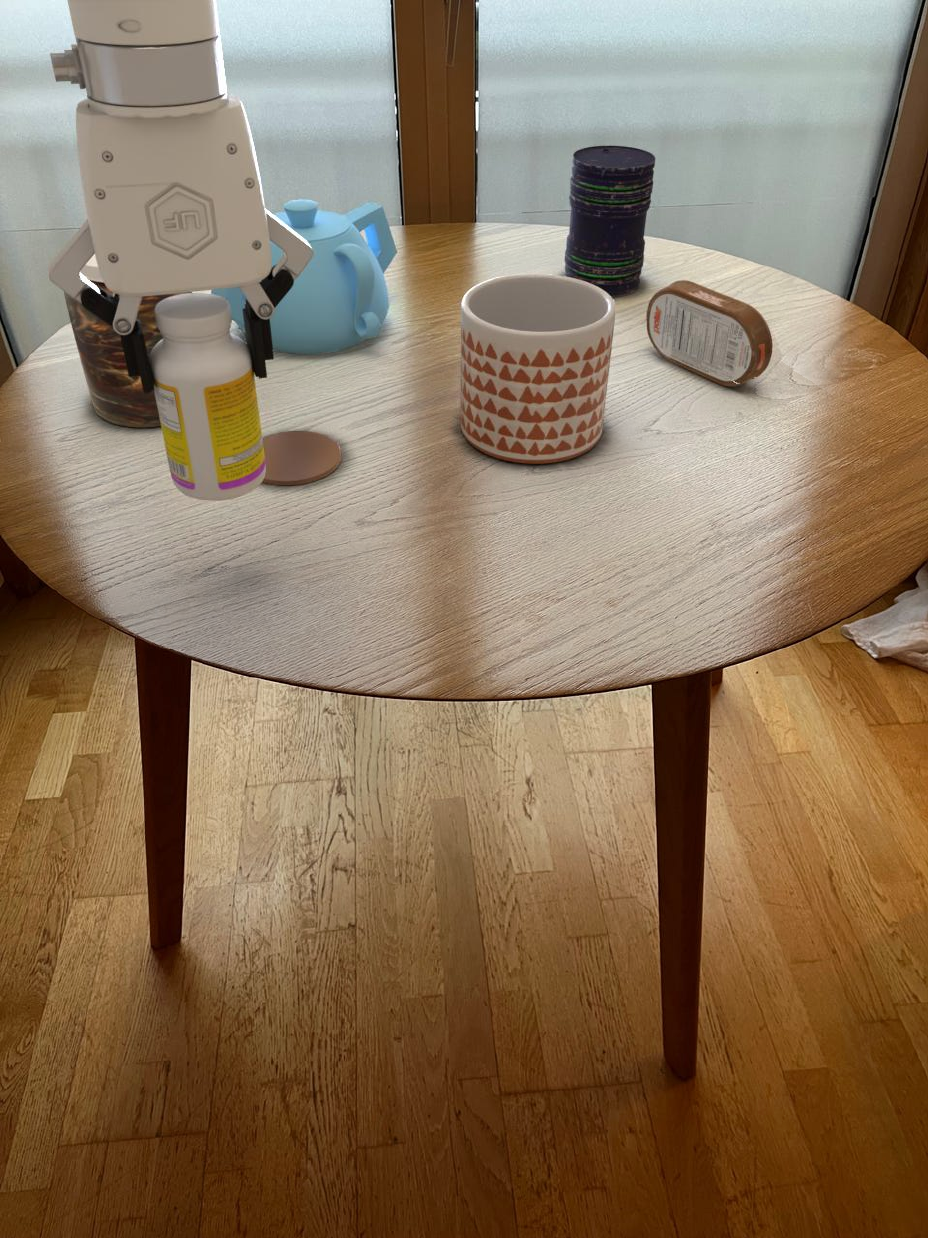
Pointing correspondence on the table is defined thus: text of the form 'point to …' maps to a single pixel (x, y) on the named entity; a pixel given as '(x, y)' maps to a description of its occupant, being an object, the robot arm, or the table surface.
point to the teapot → (329, 280)
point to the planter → (535, 366)
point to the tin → (709, 333)
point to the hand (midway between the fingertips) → (203, 374)
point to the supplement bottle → (206, 399)
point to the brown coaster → (299, 457)
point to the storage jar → (609, 216)
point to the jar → (114, 359)
